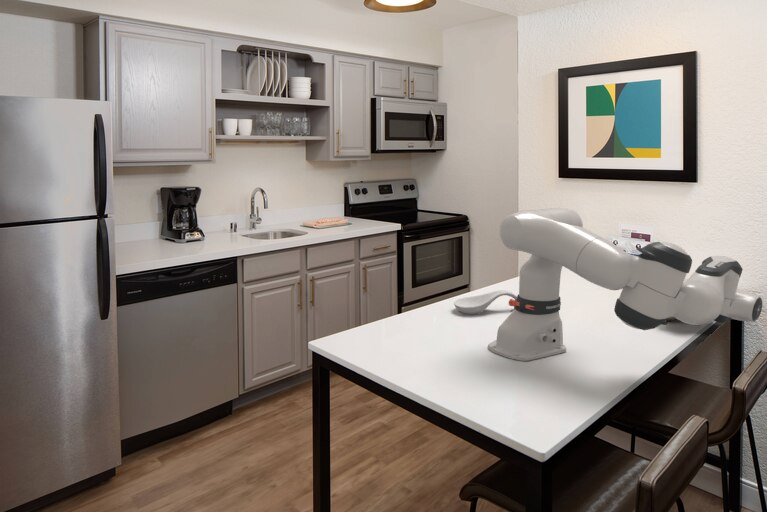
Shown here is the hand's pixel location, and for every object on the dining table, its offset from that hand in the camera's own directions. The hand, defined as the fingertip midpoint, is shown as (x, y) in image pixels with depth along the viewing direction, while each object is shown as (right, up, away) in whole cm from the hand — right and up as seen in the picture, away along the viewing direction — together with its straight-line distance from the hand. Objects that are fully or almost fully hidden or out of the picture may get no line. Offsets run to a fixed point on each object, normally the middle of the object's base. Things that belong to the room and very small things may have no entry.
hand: (663, 287), depth 181 cm
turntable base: (+1, -10, +1) cm, 10 cm away
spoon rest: (-55, -9, +11) cm, 57 cm away
